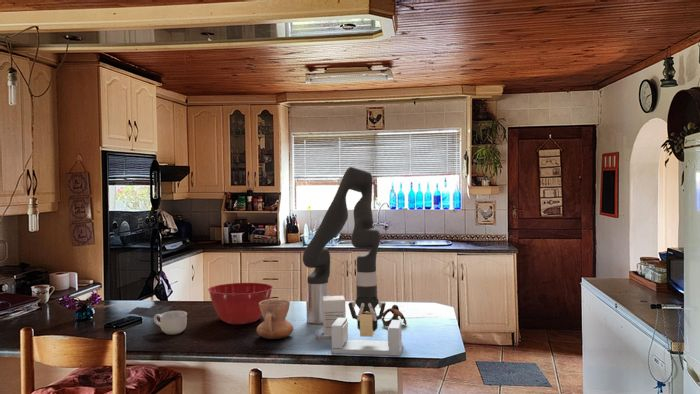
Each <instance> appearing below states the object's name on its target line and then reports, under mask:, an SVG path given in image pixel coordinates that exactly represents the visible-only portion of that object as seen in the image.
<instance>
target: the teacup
mask: <svg viewBox="0 0 700 394" xmlns="http://www.w3.org/2000/svg"><path fill="white" fill-rule="evenodd" d="M187 316H188V312H187V311H184V310H173V311H169V312H165V313H163V314H156V315H155V316H154V318H153V321H154V323H155V324H156V325H157V326H159V328H160V329H161V332H163V333H165V334H166V335H178V334H180V333H182V332H184V330H185V329H186V327H187V326H188V325H187V323H188V322H187V321H188V319H187V318H188V317H187ZM158 318H159V319H160V320H159V321H158Z"/></svg>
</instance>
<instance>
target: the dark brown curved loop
mask: <svg viewBox="0 0 700 394" xmlns="http://www.w3.org/2000/svg"><path fill="white" fill-rule="evenodd" d="M388 313H392V317H391V318H390V319H389V320H387V321H385V317H386V316H387V315H388ZM399 317H400V318H399ZM380 320H381V321H382V325H383V326H384V327H389V325H390V323H391V321H392V320H403V322H402V323H403V325H404V326H407V320H406V318H405V316H404V314H403V313H402V312H401V310H400V308H399V306H398V305H397V304H393V305H392V306H391V308H388V309H385V310H384V312H383V316H382V318H381V319H380Z"/></svg>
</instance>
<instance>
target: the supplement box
mask: <svg viewBox="0 0 700 394" xmlns="http://www.w3.org/2000/svg"><path fill="white" fill-rule="evenodd" d="M346 308H347V307H346V299H345V296H344V295H328V296H323V323H322V330H323V331H322V332H323V335H325V336H332V327H331V326H332V324H333V323H334V322H335V321H336V319H337V318H347V317H346V315H347V313H346V312H347V311H346V310H347V309H346Z"/></svg>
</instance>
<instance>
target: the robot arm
mask: <svg viewBox="0 0 700 394" xmlns="http://www.w3.org/2000/svg"><path fill="white" fill-rule="evenodd" d="M341 178H342V179H341V181H340V183H339V186H338V188H337V191H336V194H334V195H335V196H334V197H333V199H332V201H331V203H330V205H329V207H328V209H327V211H326V212H325V215H323V218H322V221H321V222H320V225H319V226H318V228H317V230H316V232H315V234H314V235H313V237H312V239H311V240H310V241H309V242H308V244H307V246H306V248H305V249H304V251H303V253H302V263H303V265H304V266H305V267H306V268H309V269H314V270H313V272H311V273H310V274H309V275H308V276H307V283H306V284H307V285H306V286H307V287H306V288H307V300H306V302H305V303H306V304H305V305H306V306H305V307H306V323H307V324H309V323H310V324H317V325H319V324H323V296H329V277H330V275H331V254H330V251H329V249H328V247H327V245H328V243H330V242H331V241H333V240H334V238H336V237H337V236H338V235H339V234H340V233H341V231H342V230H343V229H344V227H345V225H346V222H347V221H348V218H349V211H348V206H347V195H348V192H349V190H351V191H355V192H357V193H360V194H361V197H360V199H359V200H358V201H357V202H356V203H355V205H354V208H353V221H354V222H353V223H354V226H353V230H352V234H351V245H352V246H353V247H354V248H355V249H370V250H369V251H368V252H367V253H363V254H360V255H358V256H357V257H356V281H355V284H356V299H355V300H353V301H349V303H348V308H349V311H350V315H351V318H352V319H353V320H356V321H357V329H358V330H359V332H360V313H362V312H366V311H367V312H371V313H373V331H375V332H376V330H377V329H378V321H379V320H381V319H382V318H383V313H384V312H385V310H386V304H387V303H386V301H383V302H382V301H379V299H378V276H377V255H378V249H379V246H380V242H381V233H380V232H379V230H378V229H377V228H372V227H374V217H373V211H372V199H373V198H372V197H373V175H372V174H371V172H369V171H367V170H366V169H363V168H362V169H361V168H359V167H356V166H349V167H348V168H347V169H346V170H345V172H344V174H343V177H341ZM356 306H357V308H359V310H358V314H357V313H356V310H355V307H356ZM377 306H378V308H379V309H380V310H379V314H378V315H377V312H376V308H377Z"/></svg>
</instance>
